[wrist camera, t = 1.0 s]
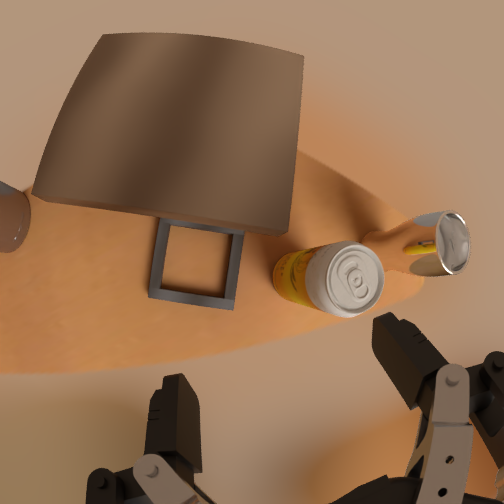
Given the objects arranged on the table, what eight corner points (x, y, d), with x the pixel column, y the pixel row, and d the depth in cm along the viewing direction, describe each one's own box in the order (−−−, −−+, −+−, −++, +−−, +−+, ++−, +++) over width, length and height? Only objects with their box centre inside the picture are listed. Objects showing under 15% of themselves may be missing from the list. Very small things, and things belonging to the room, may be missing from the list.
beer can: (302, 243, 35) (368, 225, 20) (324, 285, 35) (397, 291, 21) (262, 267, 34) (307, 264, 19) (285, 310, 34) (342, 334, 19)
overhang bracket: (128, 292, 31) (15, 324, 9) (152, 165, 32) (102, 34, 10) (232, 309, 33) (289, 377, 11) (251, 180, 35) (321, 61, 12)
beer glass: (384, 221, 38) (459, 199, 23) (400, 264, 38) (477, 259, 23) (349, 238, 36) (425, 221, 22) (367, 285, 36) (446, 289, 22)
